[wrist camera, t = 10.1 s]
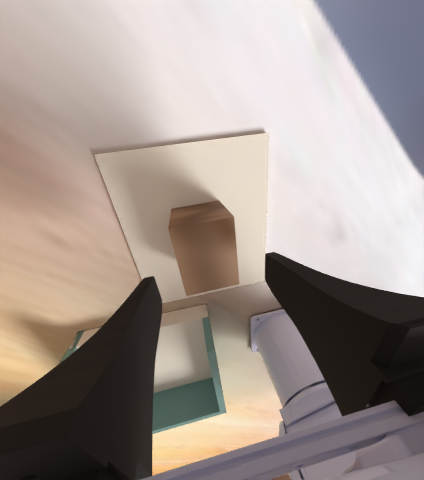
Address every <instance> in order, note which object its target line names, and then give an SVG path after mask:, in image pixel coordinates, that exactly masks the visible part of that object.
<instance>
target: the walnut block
mask: <svg viewBox="0 0 424 480" xmlns="http://www.w3.org/2000/svg"><path fill="white" fill-rule="evenodd" d="M168 230H169V234H170V237H171V241H172V245H173V249H174V252H175V256H176V260H177V264H178V267H179V271H180V275H181V278H182V282H183V286H184V290H185V293H186V296H189V295H194V294H198V293H203V292H207V291H212V290H216V289H220V288H225V287H229V286H234V285H238V284H239V272H238V259H237V246H236V233H235V220H234V216H233V215H232V214H231V213H230V212H229V211H228V209H227V208H226V207H225V206H224V205H223V204H222V203H221V202H220V201H219V200H218V201H213V202H207V203H201V204H196V205H190V206H184V207H178V208H173V209H171V214H170V220H169V227H168Z"/></svg>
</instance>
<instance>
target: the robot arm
mask: <svg viewBox="0 0 424 480" xmlns="http://www.w3.org/2000/svg"><path fill="white" fill-rule="evenodd" d="M265 280H266V282H267V284H268V286H269V288H270V290H271V292H272V293H273V295H274V296H275V298H276V299H277V300H278V302H279V303H280V305H281V306H282V308H283V309H281V310H276V311H272V312H268V313H264V314H259V315H255V316H252V317H251V318H250V331H251V350H252V352H257V351H260V354H261V356H262V359H263V361H264V363H265V366H266V368H267V371H268V373H269V375H270V378H271V380H272V383H273V385H274V387H275V390H276V392H277V395H278V397H279V400H280V402H281V404H282V407H283V408H282V409H280V410H279V411H280V413H281V416H282V418H283V421H281V422H280V425H279V436H278V437H275V438H272V439H269V440H265V441H262V442H259V443H256V444H253V445H249V446H246V447H243V448H240V449H237V450H233V451H230V452H227V453H224V454H220V455H217V456H214V457H211V458H208V459H204V460H201V461H198V462H195V463H192V464H188V465H185V466H182V467H179V468H176V469H172V470H169V471H166V472H163V473H160V474H156V475H153V476H152V425H153V394H154V374H155V360H156V352H157V345H158V339H159V332H160V326H161V319H162V298H161V295H160V292H159V289H158V286H157V283H156V280H155V277H154V276H151V277H146V278H143V280H142V281H141V282H140V283H139V285H138V286H137V287H136V288H135V290H134V291H133V292H132V293H131V295H130V296H129V297H128V298H127V300H126V301H125V302H124V303H123V304H122V305H121V307H120V308H119V309H118V310H117V311H116V312H115V313H114V314H113V316H112V317H111V318H110V319H109V320H108V321H107V322H106V323H105V324H104V325H103V326H102V327H101V328H100V329H99V330H98V331H97V332H96V333H95V334H94V335H93V336H92V337H90V338H89V339H88V340H87V341H86V342H85V343H84V344H82V345H81V346H80V347H79V348H78V349H77V350H76V351H74V352H73V353H72V354H71V355H70V356H69V357H67V358H66V359H65V360H64V361H62V362H61V363H60V364H59V365H57V366H56V367H55V368H53V369H52V370H51V371H50V372H48V373H47V374H46V375H44V376H43V377H42V378H40V379H39V380H38V381H36V382H35V383H34V384H32V385H31V386H29V387H28V388H27V389H25V390H24V391H22V392H21V393H19V394H18V395H17V396H15V397H14V398H12V399H11V400H9V401H8V402H7V403H5V404H4V405H2V406H1V407H0V480H270V479H273V478H276V477H279V476H282V475H284V474H287V473H289V476H290V478H291V480H424V297H418V296H411V295H405V294H399V293H394V292H389V291H384V290H379V289H375V288H371V287H367V286H363V285H359V284H355V283H351V282H348V281H345V280H341V279H338V278H335V277H332V276H329V275H326V274H324V273H321V272H319V271H316V270H314V269H311V268H309V267H306V266H304V265H302V264H300V263H297V262H295V261H293V260H291V259H289V258H287V257H284V256H282V255H280V254H278V253H275V252H272V253H267V254H265Z"/></svg>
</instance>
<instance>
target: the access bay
mask: <svg viewBox="0 0 424 480" xmlns="http://www.w3.org/2000/svg"><path fill="white" fill-rule="evenodd" d="M100 328H101V327H99V328H95V329H90V330H86V331H81V332H78V333H77V334H76V336H75V338H74V339H73V341H72V343H71V345H70V346H69V348H68V350H67V352H66V353H65V355H64V357H63V358H62V360H61V362H62V361H64V360H65V359H66V358H67V357H69V356H70V355H71V354H72V353H73V352H74V351H76V350H77V349H78V348H79V347H80V346H81V345H82V344H84V343H85V342H86V341H87V340H88V339H89V338H90V337H92V336H93V335H94V334H95V333H96V332H97V331H98V330H99V329H100ZM61 362H60V363H61ZM223 413H226V408H225V402H224V397H223V391H222V386H221V380H220V375H219V369H218V364H217V358H216V353H215V348H214V342H213V337H212V332H211V326H210V321H209V315H208V310H207V305H206V304H203V305H198V306H194V307H189V308H185V309H180V310H176V311H171V312H167V313H162V319H161V326H160V332H159V339H158V345H157V352H156V360H155V374H154V394H153V425H152V434H154V433H158V432H161V431H164V430H168V429H171V428H175V427H178V426H182V425H185V424H189V423H192V422H195V421H199V420H202V419H206V418H209V417H213V416H216V415H220V414H223Z"/></svg>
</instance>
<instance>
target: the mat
mask: <svg viewBox="0 0 424 480" xmlns="http://www.w3.org/2000/svg"><path fill="white" fill-rule="evenodd" d="M268 142H269V133H262V134H254V135H246V136H238V137H229V138H221V139H213V140H205V141H197V142H189V143H181V144H173V145H165V146H157V147H149V148H141V149H133V150H125V151H117V152H109V153H101V154H94V156H95V159H96V161H97V164H98V166H99V169H100V172H101V174H102V177H103V180H104V182H105V185H106V187H107V190H108V193H109V195H110V198H111V200H112V203H113V206H114V208H115V211H116V214H117V216H118V219H119V221H120V224H121V227H122V229H123V232H124V234H125V237H126V240H127V242H128V245H129V248H130V250H131V253H132V255H133V258H134V261H135V263H136V266H137V268H138V271H139V274H140V276H141V279H142V280H143V278H146V277H151V276H154V277H155V280H156V283H157V286H158V289H159V292H160V295H161V298H162V303H167V302H171V301H176V300H181V299H185V298H190V297H194V296H199V295H204V294H208V293H213V292H218V291H222V290H227V289H231V288H236V287H241V286H245V285H250V284H255V283H259V282H264V281H265V254H266V220H267V181H268ZM218 200H219V201H220V202H221V203H222V204H223V205H224V206H225V207H226V208H227V209H228V211H229V212H230V213H231V214H232V215H233V216H234V220H235V233H236V246H237V259H238V272H239V284H238V285H234V286H229V287H225V288H220V289H216V290H212V291H207V292H203V293H198V294H194V295H189V296H186V293H185V290H184V286H183V282H182V278H181V275H180V271H179V267H178V264H177V260H176V256H175V252H174V249H173V245H172V241H171V237H170V234H169V230H168V227H169V220H170V214H171V209H173V208H178V207H184V206H190V205H196V204H201V203H207V202H213V201H218Z"/></svg>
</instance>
